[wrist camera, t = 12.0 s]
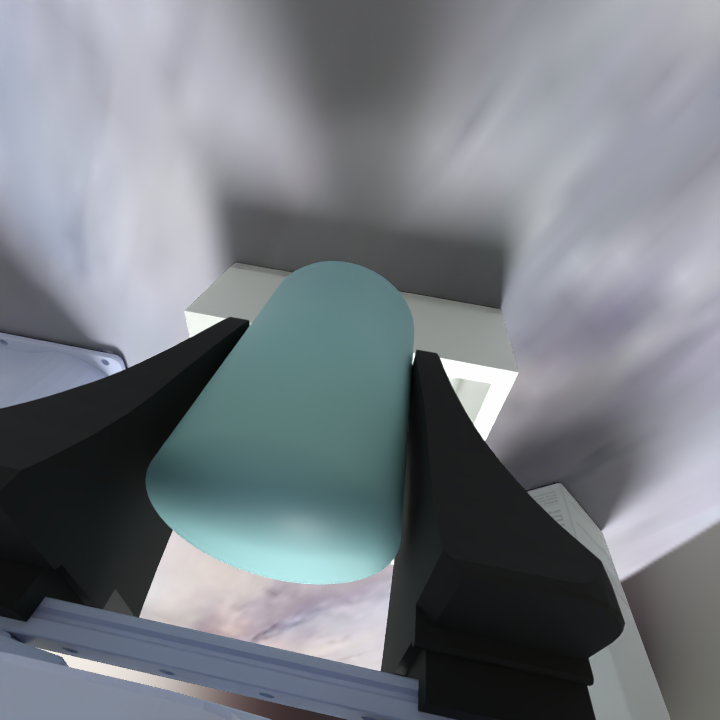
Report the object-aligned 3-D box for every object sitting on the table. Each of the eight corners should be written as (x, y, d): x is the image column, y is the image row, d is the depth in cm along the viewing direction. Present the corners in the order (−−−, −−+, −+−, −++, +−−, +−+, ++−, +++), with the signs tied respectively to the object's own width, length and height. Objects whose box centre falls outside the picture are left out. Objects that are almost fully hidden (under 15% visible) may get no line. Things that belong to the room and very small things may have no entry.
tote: (254, 469, 30) (227, 529, 26) (234, 262, 19) (184, 310, 16) (423, 504, 30) (422, 570, 26) (500, 309, 19) (518, 372, 15)
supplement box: (463, 507, 29) (479, 733, 19) (561, 478, 26) (643, 739, 16) (510, 552, 32) (545, 770, 22) (604, 533, 28) (697, 783, 18)
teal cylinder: (271, 374, 15) (173, 557, 9) (265, 248, 12) (112, 408, 6) (400, 397, 14) (380, 601, 9) (429, 275, 11) (427, 468, 6)
